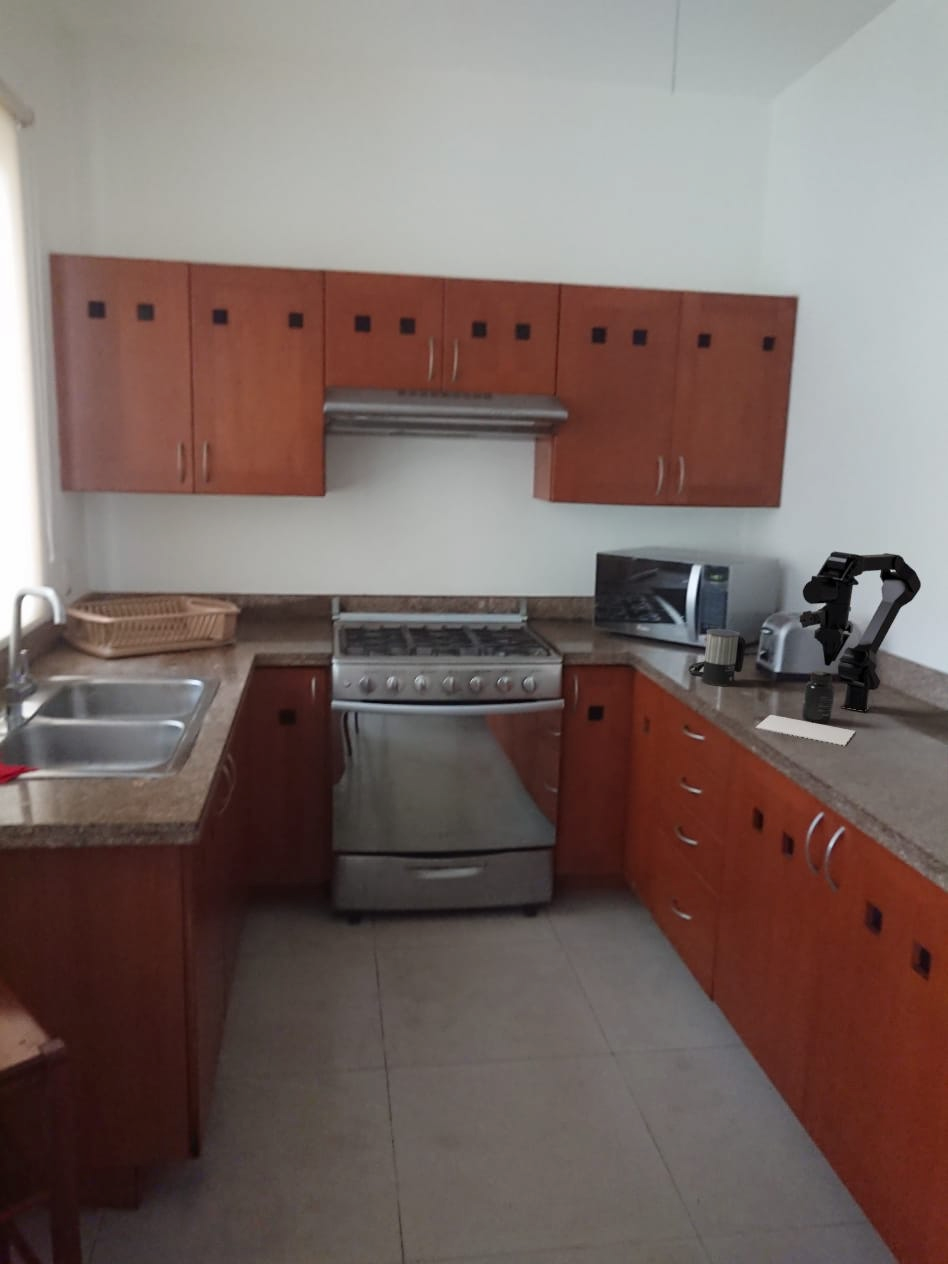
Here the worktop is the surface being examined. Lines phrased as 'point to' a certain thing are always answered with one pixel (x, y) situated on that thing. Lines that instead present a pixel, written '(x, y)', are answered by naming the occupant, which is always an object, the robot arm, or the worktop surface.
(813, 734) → the mat
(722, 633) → the milk frother
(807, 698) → the supplement bottle
